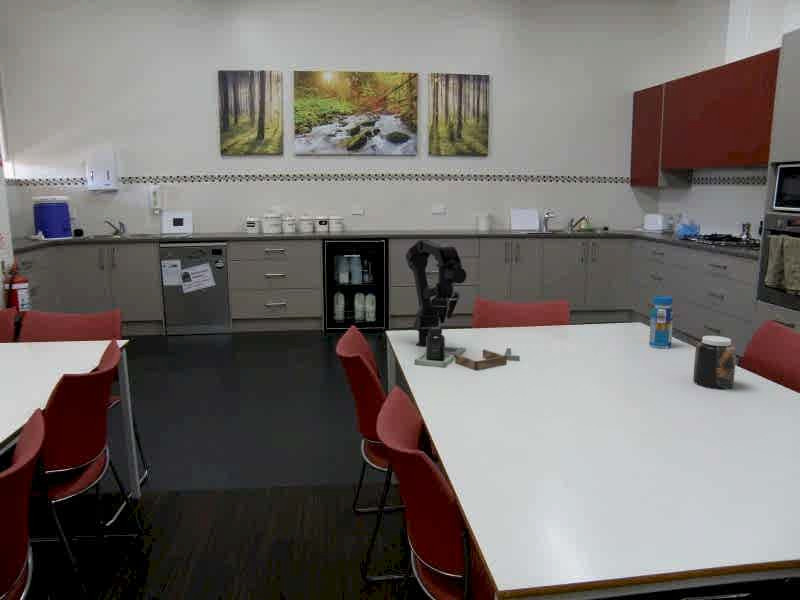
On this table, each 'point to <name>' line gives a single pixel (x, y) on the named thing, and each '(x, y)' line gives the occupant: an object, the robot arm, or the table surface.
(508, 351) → the crook tool
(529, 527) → the table surface
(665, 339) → the beverage bottle
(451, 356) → the tray
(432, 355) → the supplement bottle
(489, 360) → the u-shaped bracket
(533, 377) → the table surface
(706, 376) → the jar
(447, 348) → the hole plate
